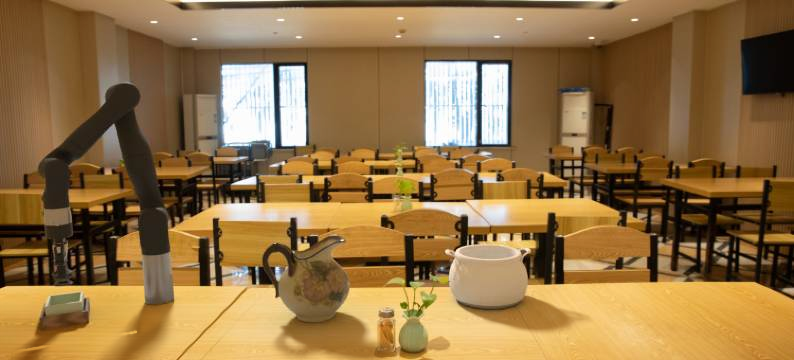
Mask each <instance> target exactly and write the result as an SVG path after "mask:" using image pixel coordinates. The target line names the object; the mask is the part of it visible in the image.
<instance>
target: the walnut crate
mask: <svg viewBox="0 0 794 360" xmlns="http://www.w3.org/2000/svg"><path fill="white" fill-rule="evenodd" d="M45 305H46V302H45V303H43V306H42V308H41V312H40V315H39V327H40V331H44V330H49V329H55V328H56V329H57V328H62V327H69V326H77V325H81V324H82V325H83V324H89V322H90V316H91V315H90V314H91V313H90V312H91V303H90V296H89V297H84V305H85V311H79V312H72V313H66V314H59V315H52V316H46V314H45Z"/></svg>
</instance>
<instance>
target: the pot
mask: <svg viewBox="0 0 794 360" xmlns="http://www.w3.org/2000/svg"><path fill="white" fill-rule="evenodd" d="M521 251H526V252H525V253H523V254H522V252H521ZM531 252H532V250H531V249H530V248H529V247H522V248H515V247H512V246H508V245H501V244H490V243H489V244H488V243H487V244H486V243H485V244H484V243H482V244H481V243H480V244H470V245H465V246H464V245H463V246H461V247H459V248H457V249H456V250H455V251H454V250H451V249H448V248H447V249H445V253H444V254H446V255H447V256H451V257H454V259H453V261H452V263H451V264H450V269H449V275H448V281H450V282H448V284H449V288H450V292H451V294H452V296H453V297H454V298H455V300H457V302H459V303H460V304H462V305H464V306H468V307H470V308H471V307H472V308H475V309H476V308H477V309H485V310H496V309H497V310H500V309H506V308H510V307H513V306H515V305H518V304H519V303H520V302H521V301H522V300H523V299H524V297H525V295H526V292H527V289H528V283H529V282H528V281H529V279H528V272H527V267H526V266H525V264H524V263H523V260H524V257H525V256H527V255H528V254H530V253H531Z"/></svg>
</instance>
